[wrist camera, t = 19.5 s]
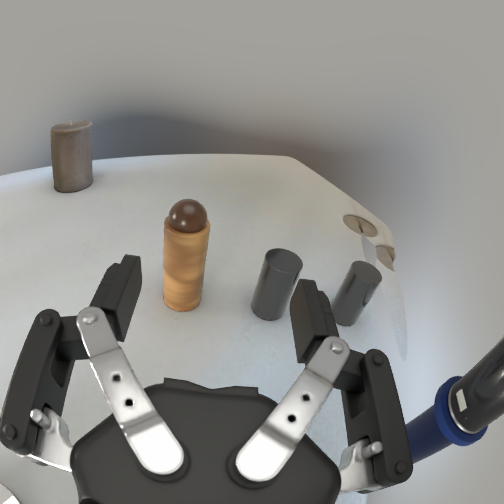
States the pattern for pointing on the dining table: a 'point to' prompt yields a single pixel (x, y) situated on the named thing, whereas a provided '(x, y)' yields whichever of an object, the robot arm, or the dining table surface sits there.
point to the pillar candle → (72, 155)
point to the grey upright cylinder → (276, 283)
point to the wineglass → (7, 496)
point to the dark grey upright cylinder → (355, 292)
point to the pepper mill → (185, 254)
